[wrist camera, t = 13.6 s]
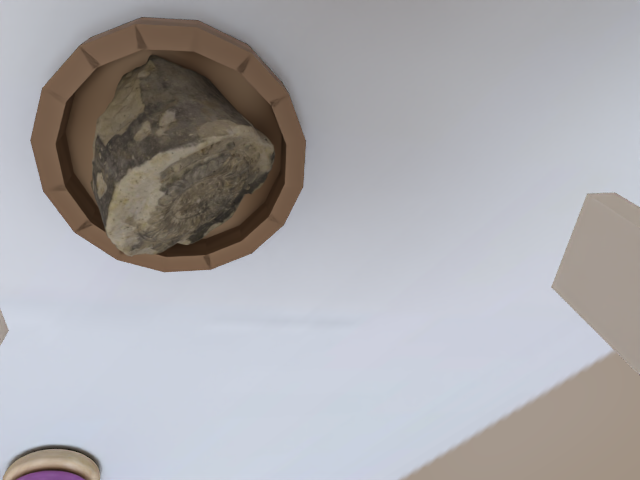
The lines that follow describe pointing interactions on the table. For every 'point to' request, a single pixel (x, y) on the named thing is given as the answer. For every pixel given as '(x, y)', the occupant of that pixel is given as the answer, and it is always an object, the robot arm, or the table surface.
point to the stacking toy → (53, 466)
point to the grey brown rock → (172, 159)
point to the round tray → (98, 92)
